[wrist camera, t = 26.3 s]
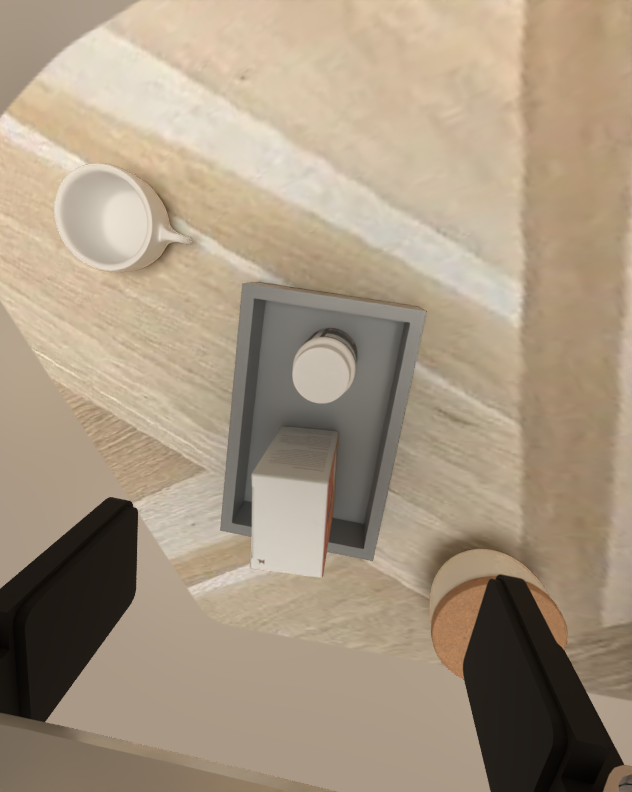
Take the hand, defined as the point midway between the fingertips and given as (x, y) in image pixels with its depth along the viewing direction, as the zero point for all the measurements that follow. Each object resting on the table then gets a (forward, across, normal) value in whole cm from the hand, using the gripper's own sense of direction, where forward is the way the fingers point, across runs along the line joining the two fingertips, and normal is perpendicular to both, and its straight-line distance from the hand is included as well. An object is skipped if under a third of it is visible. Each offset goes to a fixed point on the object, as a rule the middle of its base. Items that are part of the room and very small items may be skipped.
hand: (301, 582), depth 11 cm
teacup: (+29, +19, -9) cm, 35 cm away
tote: (+28, +2, +5) cm, 29 cm away
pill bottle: (+28, +2, -1) cm, 28 cm away
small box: (+28, +2, +10) cm, 29 cm away
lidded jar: (+28, -16, +19) cm, 38 cm away
